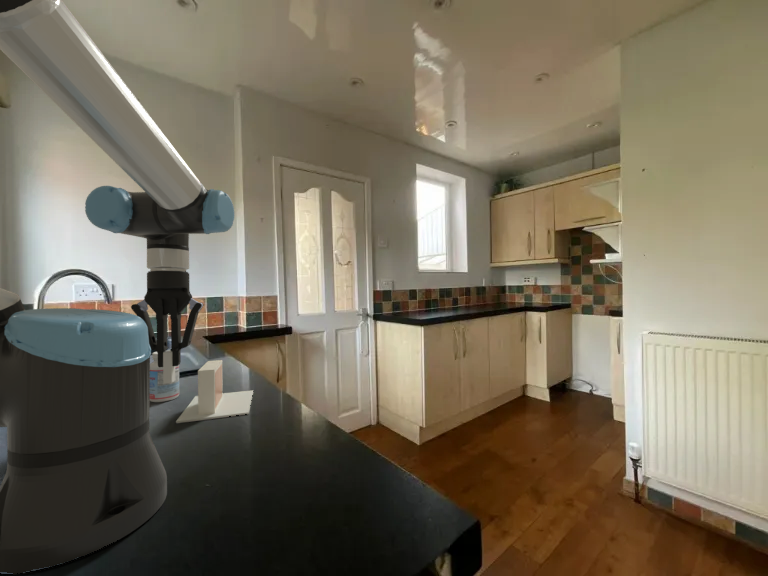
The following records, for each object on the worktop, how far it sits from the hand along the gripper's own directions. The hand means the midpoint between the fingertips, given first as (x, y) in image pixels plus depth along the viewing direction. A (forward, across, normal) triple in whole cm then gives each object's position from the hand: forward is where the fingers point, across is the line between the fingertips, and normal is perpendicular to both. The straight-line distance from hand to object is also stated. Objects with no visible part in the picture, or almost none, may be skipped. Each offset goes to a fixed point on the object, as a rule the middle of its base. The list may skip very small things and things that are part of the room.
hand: (169, 381), depth 68 cm
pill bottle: (+7, +4, -11) cm, 13 cm away
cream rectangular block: (+6, -8, 0) cm, 10 cm away
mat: (+7, -10, -1) cm, 12 cm away
